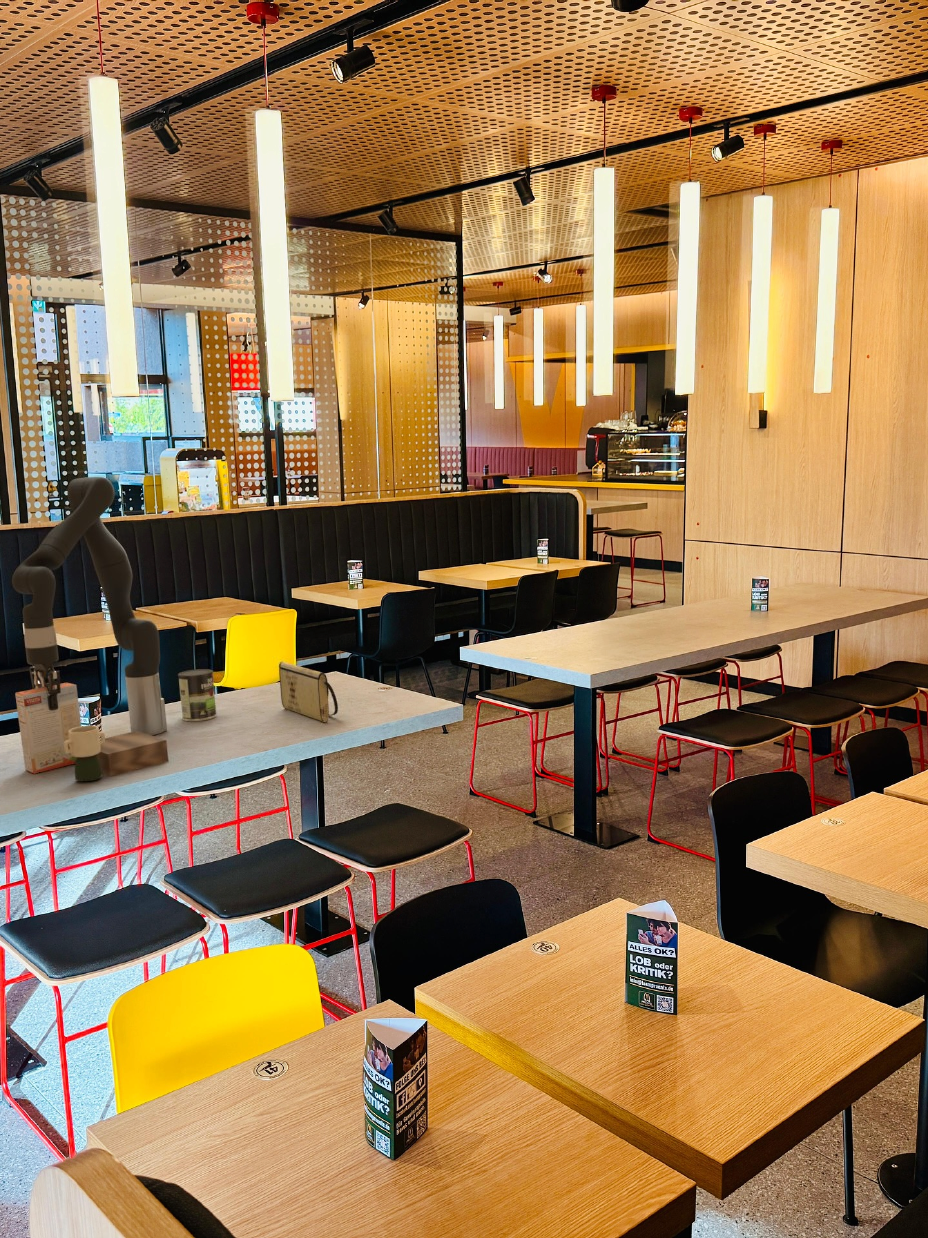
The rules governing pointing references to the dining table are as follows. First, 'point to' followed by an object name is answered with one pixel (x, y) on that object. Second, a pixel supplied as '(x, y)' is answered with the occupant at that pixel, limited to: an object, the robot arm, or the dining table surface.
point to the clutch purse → (305, 691)
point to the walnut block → (131, 752)
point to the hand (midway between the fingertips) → (48, 707)
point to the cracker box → (47, 727)
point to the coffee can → (197, 695)
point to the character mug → (85, 751)
